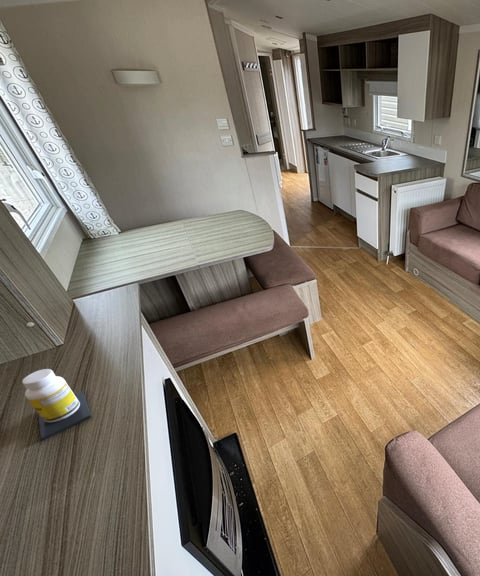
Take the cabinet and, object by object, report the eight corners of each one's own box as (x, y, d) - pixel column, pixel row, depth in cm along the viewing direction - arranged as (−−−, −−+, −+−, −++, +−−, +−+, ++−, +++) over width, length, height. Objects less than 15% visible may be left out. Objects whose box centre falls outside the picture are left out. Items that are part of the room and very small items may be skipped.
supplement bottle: (43, 413, 61) (16, 376, 57) (79, 397, 65) (56, 362, 60) (44, 428, 58) (16, 390, 54) (82, 411, 62) (58, 375, 57)
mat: (39, 412, 62) (37, 409, 62) (84, 392, 67) (82, 390, 67) (42, 440, 56) (40, 438, 56) (91, 417, 61) (90, 415, 61)
